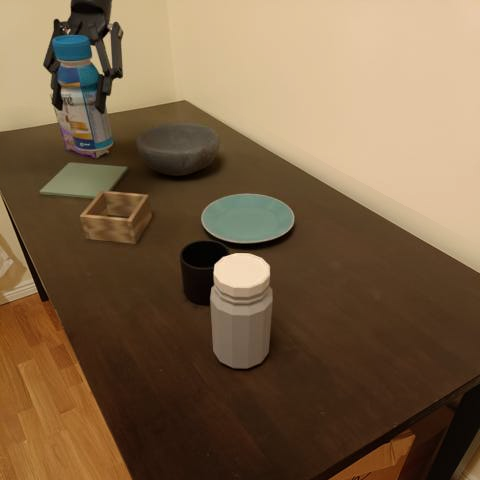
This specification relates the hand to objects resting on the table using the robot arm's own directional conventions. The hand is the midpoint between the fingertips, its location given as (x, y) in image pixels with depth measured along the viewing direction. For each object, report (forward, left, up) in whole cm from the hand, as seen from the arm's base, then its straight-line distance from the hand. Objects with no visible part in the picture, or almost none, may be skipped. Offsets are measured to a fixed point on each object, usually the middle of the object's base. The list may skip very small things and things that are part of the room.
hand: (78, 108), depth 85 cm
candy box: (-22, +39, -27) cm, 52 cm away
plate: (+34, +5, -27) cm, 43 cm away
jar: (+39, -35, -27) cm, 59 cm away
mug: (+29, -19, -27) cm, 44 cm away
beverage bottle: (0, +3, -9) cm, 9 cm away
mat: (-14, +20, -26) cm, 36 cm away
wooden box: (+4, -1, -26) cm, 27 cm away
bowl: (+10, +32, -27) cm, 43 cm away
